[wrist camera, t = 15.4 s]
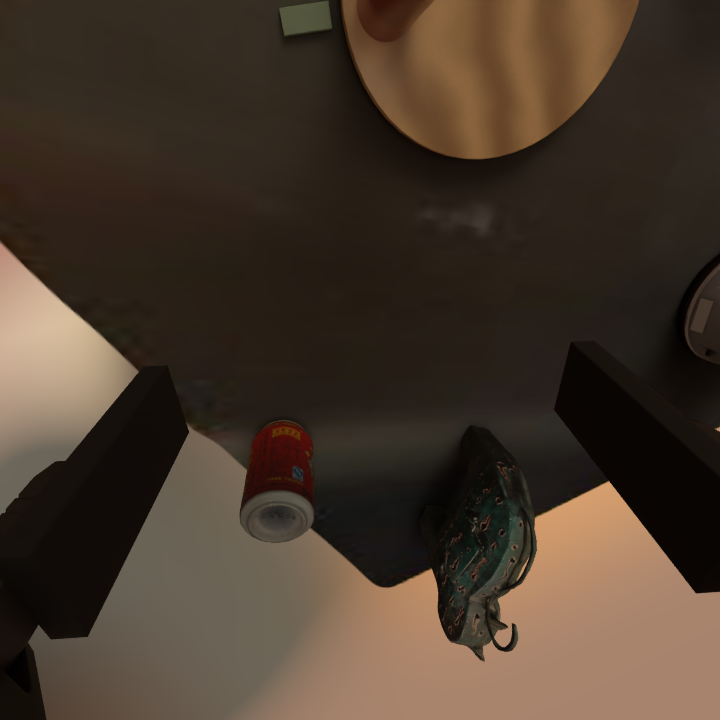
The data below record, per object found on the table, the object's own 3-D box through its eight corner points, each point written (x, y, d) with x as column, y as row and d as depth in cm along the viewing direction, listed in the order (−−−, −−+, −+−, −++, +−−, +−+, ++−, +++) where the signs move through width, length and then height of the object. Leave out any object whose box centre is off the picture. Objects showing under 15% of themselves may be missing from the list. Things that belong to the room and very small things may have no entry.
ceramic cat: (441, 530, 60) (497, 691, 42) (401, 525, 58) (442, 690, 41) (502, 426, 51) (604, 574, 34) (457, 417, 49) (539, 567, 32)
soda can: (312, 460, 50) (313, 547, 39) (254, 461, 49) (239, 551, 38) (314, 414, 47) (316, 496, 36) (251, 414, 46) (235, 498, 35)
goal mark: (328, 2, 29) (328, 0, 29) (331, 30, 30) (332, 28, 30) (279, 9, 29) (278, 7, 29) (284, 37, 30) (284, 35, 29)
